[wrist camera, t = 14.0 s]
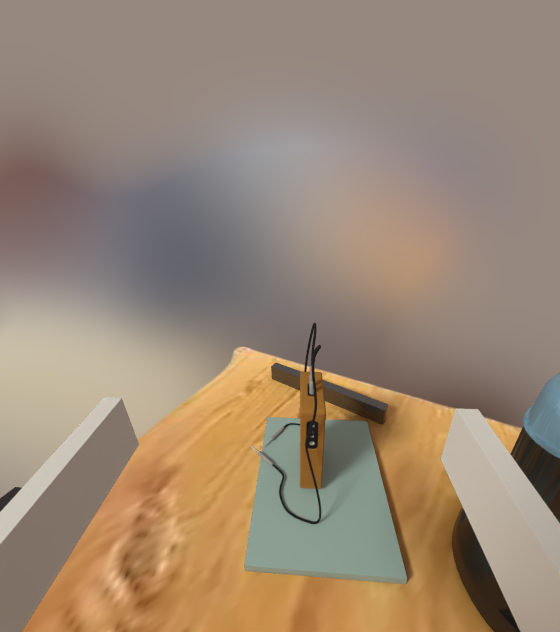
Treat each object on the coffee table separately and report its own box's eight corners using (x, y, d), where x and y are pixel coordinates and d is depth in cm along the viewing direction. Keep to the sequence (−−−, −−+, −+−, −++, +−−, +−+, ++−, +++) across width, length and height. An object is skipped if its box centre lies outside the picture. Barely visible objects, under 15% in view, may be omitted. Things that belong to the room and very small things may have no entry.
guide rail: (385, 418, 47) (388, 404, 46) (382, 424, 46) (385, 410, 45) (276, 374, 59) (275, 362, 57) (271, 378, 58) (271, 366, 56)
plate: (366, 425, 46) (367, 421, 46) (405, 584, 28) (407, 579, 28) (267, 421, 47) (267, 417, 47) (244, 570, 29) (244, 565, 29)
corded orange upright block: (254, 422, 46) (245, 308, 37) (317, 424, 45) (322, 309, 37) (236, 520, 33) (214, 380, 24) (324, 525, 32) (333, 382, 23)
